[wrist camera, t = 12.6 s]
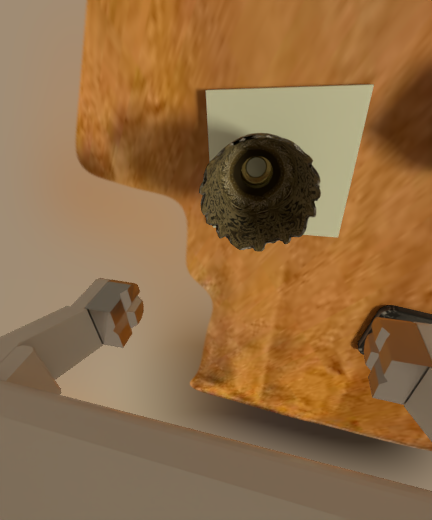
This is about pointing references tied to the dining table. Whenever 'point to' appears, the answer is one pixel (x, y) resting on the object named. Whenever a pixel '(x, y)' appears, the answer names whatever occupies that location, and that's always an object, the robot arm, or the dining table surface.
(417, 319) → the phone
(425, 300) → the dining table surface
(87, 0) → the dining table surface
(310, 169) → the cup
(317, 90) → the sage board
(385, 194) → the dining table surface
